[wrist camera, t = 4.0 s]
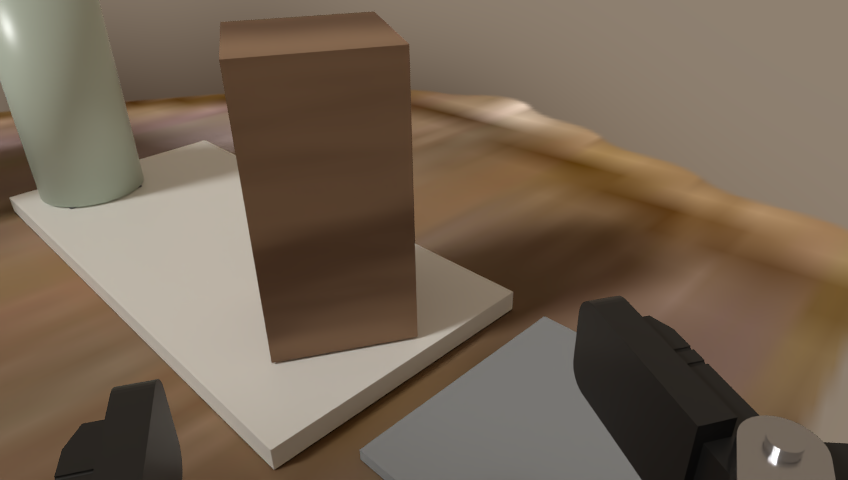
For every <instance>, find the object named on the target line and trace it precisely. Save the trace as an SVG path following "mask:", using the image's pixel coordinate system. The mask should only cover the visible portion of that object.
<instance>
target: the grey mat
mask: <svg viewBox="0 0 848 480" xmlns="http://www.w3.org/2000/svg"><path fill="white" fill-rule="evenodd" d="M576 334H577V332H575V331H573V330H571V329H569V328H567V327H565V326H563V325H561V324H559V323H557V322H555V321H553V320H551V319H549V318H547V317H545V316H544V317H543V318H541V319H540V320H539V321H537V322H536V323H534V324H533V325H532V326H530V327H529V328H528V329H526V330H525V331H523V332H522V333H521V334H519V335H518V336H516V337H515V338H514V339H512V340H511V341H510V342H508V343H507V344H505V345H504V346H503V347H501V348H500V349H498V350H497V351H496V352H494V353H493V354H492V355H490V356H489V357H487V358H486V359H485V360H483V361H482V362H480V363H479V364H478V365H476V366H475V367H474V368H472V369H471V370H469V371H468V372H467V373H465V374H464V375H462V376H461V377H460V378H458V379H457V380H456V381H454V382H453V383H451V384H450V385H449V386H447V387H446V388H444V389H443V390H442V391H440V392H439V393H438V394H436V395H435V396H433V397H432V398H431V399H429V400H428V401H426V402H425V403H424V404H422V405H421V406H420V407H418V408H417V409H415V410H414V411H413V412H411V413H410V414H408V415H407V416H406V417H404V418H403V419H402V420H400V421H399V422H397V423H396V424H395V425H393V426H392V427H390V428H389V429H388V430H386V431H385V432H384V433H382V434H381V435H379V436H378V437H377V438H375V439H374V440H372V441H371V442H370V443H368V444H367V445H366V446H364V447H363V448H361V449H360V458H361V460H362V461H363V462H364V463H365V464H367V465H368V466H369V467H370V468H371V469H372V470H374V471H375V472H376V473H377V474H378V475H379V476H381V477H382V478H383V479H384V480H641V478H640V477H639V475H638V474H637V472H636V471H635V469H634V468H633V467H632V465H631V464H630V462H629V461H628V459H627V458H626V456H625V455H624V454H623V452H622V451H621V449H620V448H619V446H618V445H617V444H616V442H615V441H614V439H613V438H612V436H611V435H610V433H609V432H608V431H607V429H606V428H605V426H604V425H603V423H602V422H601V420H600V419H599V418H598V416H597V415H596V413H595V412H594V410H593V409H592V407H591V406H590V405H589V403H588V402H587V400H586V399H585V397H584V396H583V394H582V393H581V391H580V389H579V387H578V385H577V382H576V379H575V375H574V369H573V358H574V350H575V342H576Z"/></svg>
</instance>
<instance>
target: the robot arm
mask: <svg viewBox="0 0 848 480" xmlns="http://www.w3.org/2000/svg"><path fill="white" fill-rule="evenodd" d="M573 369H574V375H575V379H576V382H577V385H578V387H579V389H580V391H581V393H582V394H583V396H584V397H585V399H586V400H587V402H588V403H589V405H590V406H591V407H592V409H593V410H594V412H595V413H596V415H597V416H598V418H599V419H600V420H601V422H602V423H603V425H604V426H605V428H606V429H607V431H608V432H609V433H610V435H611V436H612V438H613V439H614V441H615V442H616V444H617V445H618V446H619V448H620V449H621V451H622V452H623V454H624V455H625V456H626V458H627V459H628V461H629V462H630V464H631V465H632V467H633V468H634V469H635V471H636V472H637V474H638V475H639V477H640V478H641V480H848V444H845V443H826V442H823V441H822V440H821V439H820V438H819V437H818V436H817V435H815V434H814V433H813V432H811V431H810V430H808V429H807V428H805V427H804V426H802V425H800V424H798V423H795V422H793V421H790V420H788V419H784V418H781V417H775V416H759V415H758V414H757V413H756V412H755V411H754V410H753V409H752V408H751V407H750V406H749V405H748V404H747V403H746V402H745V401H744V400H743V399H742V398H741V397H740V396H739V395H738V394H737V393H736V392H735V391H734V390H733V389H732V388H731V387H730V386H729V384H728V383H727V382H726V381H725V380H724V379H723V378H722V377H721V376H720V375H719V374H718V373H717V372H716V371H715V370H714V369H713V368H712V367H711V366H710V365H709V364H705V363H704V359H703V358H702V357H701V356H700V355H699V354H698V353H697V352H696V351H695V350H694V349H693V350H691V348H690V345H689V344H688V343H687V342H686V341H685V340H684V339H683V338H682V337H681V336H680V335H679V334H678V333H677V332H676V331H675V330H674V329H673V328H671V327H669V326H667V325H665V324H663V323H662V322H660V321H658V320H656V319H654V318H653V317H651V316H645V317H642V316H641V315H640V314H639V313H638V312H637V311H636V310H635V309H634V308H633V307H632V306H631V305H630V303H629V302H628V301H627V300H626V299H625V298H623V297H621V296H614V297H608V298H603V299H597V300H591V301H586V302H583V303H582V305H581V307H580V310H579V317H578V326H577V334H576V342H575V350H574V358H573ZM54 477H55V480H182V458H181V451H180V445H179V441H178V437H177V434H176V430H175V427H174V423H173V420H172V416H171V412H170V409H169V405H168V402H167V398H166V395H165V391H164V388H163V385H162V383H161V381H160V380H159V379H157V380H151V381H146V382H140V383H134V384H129V385H123V386H118V387H114V388H113V389H112V391H111V393H110V398H109V402H108V407H107V411H106V416H105V420H100V421H95V422H89V423H84V424H82V425H81V426H80V427H79V429H78V430H77V431H76V432H75V434H74V435H73V436H72V437H71V439H70V440H69V441H68V443H67V444H66V445H65V446H64V448H63V449H62V451H61V455H60V459H59V462H58V466H57V469H56V473H55V476H54Z"/></svg>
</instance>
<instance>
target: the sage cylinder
mask: <svg viewBox="0 0 848 480" xmlns="http://www.w3.org/2000/svg"><path fill="white" fill-rule="evenodd" d="M0 81H1V84H2V87H3V90H4V93H5V96H6V99H7V102H8V105H9V108H10V111H11V114H12V116H13V119H14V122H15V125H16V128H17V131H18V134H19V137H20V140H21V143H22V146H23V148H24V151H25V154H26V157H27V160H28V163H29V166H30V169H31V172H32V175H33V178H34V180H35V183H36V186H37V189H38V192H39V195H40V198H41V200H42V201H43V202H45V203H46V204H49V205H52V206H58V207H82V206H90V205H95V204H100V203H104V202H108V201H111V200H114V199H117V198H120V197H122V196H125V195H127V194H129V193H131V192H132V191H134V190H135V189H137V188H138V187H139V186H140V185H141V184H142V182H143V180H144V176H143V172H142V168H141V164H140V160H139V156H138V153H137V149H136V145H135V141H134V137H133V133H132V129H131V125H130V121H129V117H128V113H127V109H126V105H125V101H124V97H123V93H122V90H121V85H120V82H119V77H118V73H117V69H116V65H115V61H114V58H113V53H112V49H111V46H110V42H109V38H108V34H107V30H106V26H105V22H104V18H103V14H102V10H101V6H100V2H99V0H0Z"/></svg>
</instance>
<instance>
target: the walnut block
mask: <svg viewBox="0 0 848 480" xmlns="http://www.w3.org/2000/svg"><path fill="white" fill-rule="evenodd" d="M219 61H220V67H221V73H222V78H223V84H224V90H225V96H226V102H227V108H228V113H229V119H230V125H231V131H232V137H233V142H234V148H235V154H236V160H237V165H238V171H239V177H240V183H241V189H242V194H243V200H244V206H245V212H246V218H247V223H248V229H249V235H250V241H251V246H252V252H253V258H254V264H255V270H256V275H257V281H258V287H259V293H260V299H261V304H262V310H263V316H264V322H265V327H266V333H267V339H268V345H269V351H270V356H271V362H272V363H274V362H280V361H285V360H291V359H297V358H302V357H308V356H313V355H319V354H324V353H330V352H336V351H341V350H347V349H352V348H358V347H363V346H369V345H375V344H380V343H386V342H391V341H397V340H402V339H408V338H414V337H418V331H417V296H416V262H415V228H414V193H413V159H412V125H411V91H410V58H409V44H408V43H407V42H406V41H405V40H404V39H403V38H402V37H401V36H400V35H399V34H397V33H396V32H395V31H394V30H393V29H392V28H391V27H390V26H389V25H388V24H387V23H386V22H385V21H384V20H382V19H381V18H380V17H379V16H378V15H377V14H376V13H375V12H361V13H348V14H332V15H317V16H303V17H288V18H274V19H258V20H244V21H230V22H221V24H220V51H219Z"/></svg>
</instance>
